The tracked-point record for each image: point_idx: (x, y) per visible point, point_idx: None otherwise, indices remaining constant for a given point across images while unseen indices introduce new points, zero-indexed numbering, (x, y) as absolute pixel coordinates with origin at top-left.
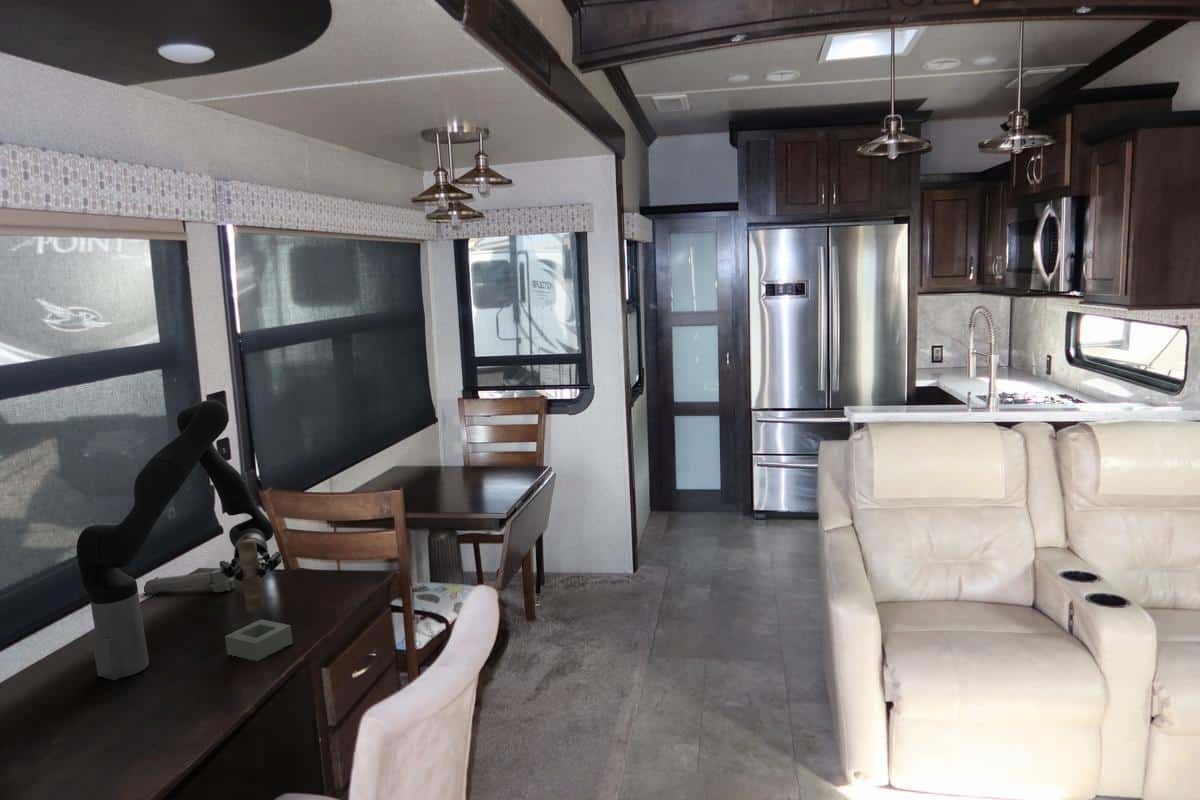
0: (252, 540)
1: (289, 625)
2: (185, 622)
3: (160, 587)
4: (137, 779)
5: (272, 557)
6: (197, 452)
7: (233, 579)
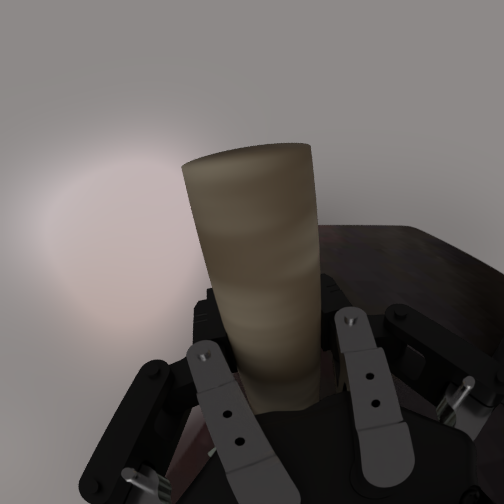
0: (203, 162)
1: (210, 455)
2: None
3: None
4: (325, 230)
5: (137, 405)
6: None
7: None
